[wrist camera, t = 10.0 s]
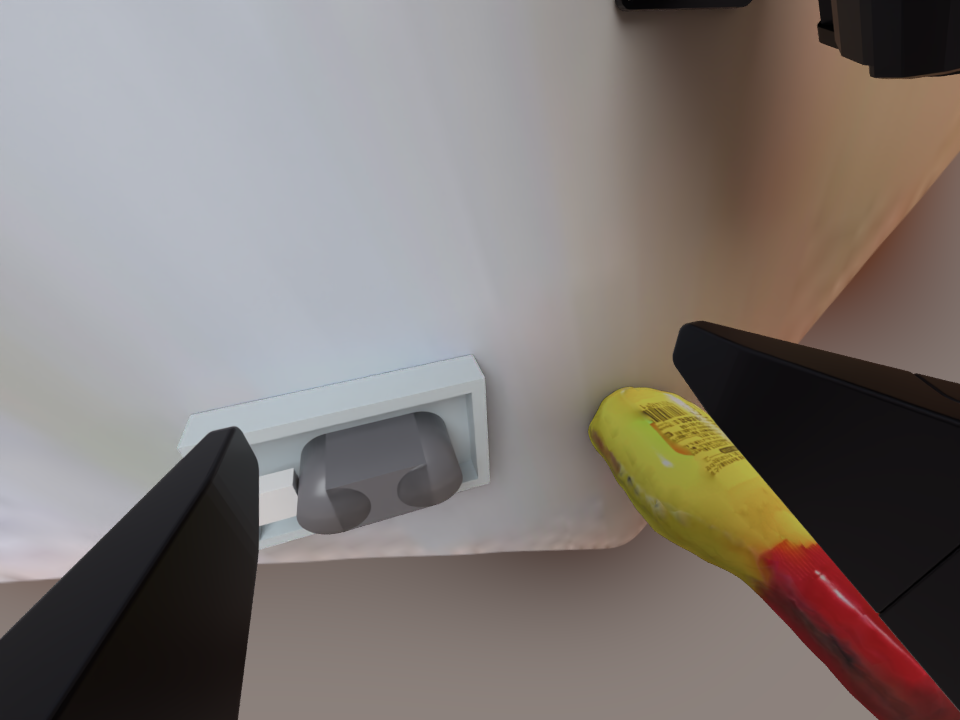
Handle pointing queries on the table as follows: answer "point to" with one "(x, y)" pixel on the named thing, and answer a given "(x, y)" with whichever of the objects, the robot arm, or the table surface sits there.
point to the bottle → (756, 544)
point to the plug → (365, 475)
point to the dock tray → (357, 421)
